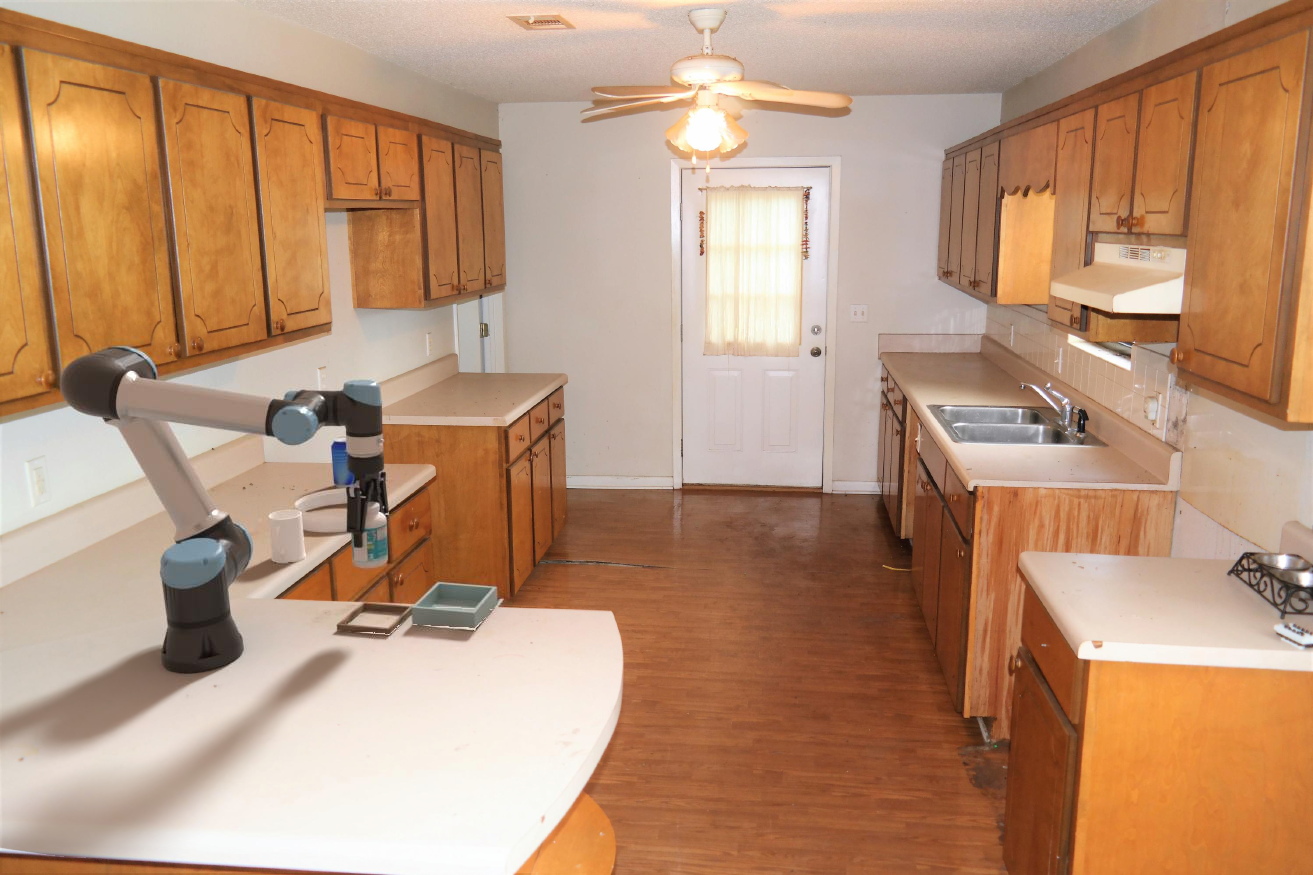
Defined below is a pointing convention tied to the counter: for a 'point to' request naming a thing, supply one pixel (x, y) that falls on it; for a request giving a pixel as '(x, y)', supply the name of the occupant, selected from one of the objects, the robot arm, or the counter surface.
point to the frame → (405, 610)
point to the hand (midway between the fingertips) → (369, 553)
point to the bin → (454, 605)
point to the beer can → (341, 464)
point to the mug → (286, 536)
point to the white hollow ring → (323, 520)
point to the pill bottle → (374, 538)
